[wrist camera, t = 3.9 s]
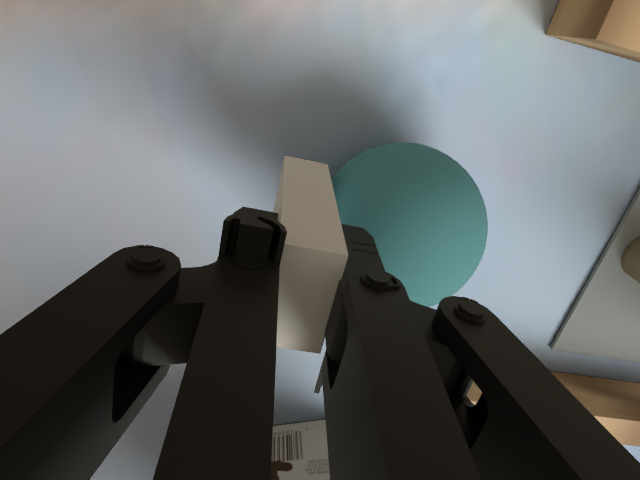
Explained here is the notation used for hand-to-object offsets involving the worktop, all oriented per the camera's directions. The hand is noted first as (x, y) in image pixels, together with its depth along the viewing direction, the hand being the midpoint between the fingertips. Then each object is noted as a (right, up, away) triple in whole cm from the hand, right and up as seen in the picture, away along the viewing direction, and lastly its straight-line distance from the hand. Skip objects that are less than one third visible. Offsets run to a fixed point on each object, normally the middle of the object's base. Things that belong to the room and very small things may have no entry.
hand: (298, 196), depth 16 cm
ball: (+4, -1, +1) cm, 4 cm away
